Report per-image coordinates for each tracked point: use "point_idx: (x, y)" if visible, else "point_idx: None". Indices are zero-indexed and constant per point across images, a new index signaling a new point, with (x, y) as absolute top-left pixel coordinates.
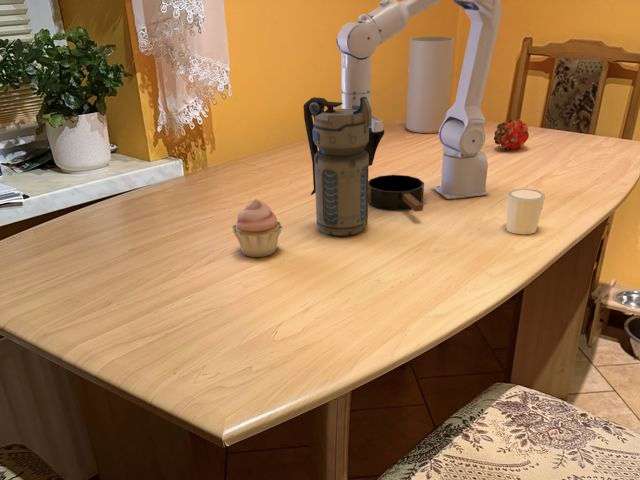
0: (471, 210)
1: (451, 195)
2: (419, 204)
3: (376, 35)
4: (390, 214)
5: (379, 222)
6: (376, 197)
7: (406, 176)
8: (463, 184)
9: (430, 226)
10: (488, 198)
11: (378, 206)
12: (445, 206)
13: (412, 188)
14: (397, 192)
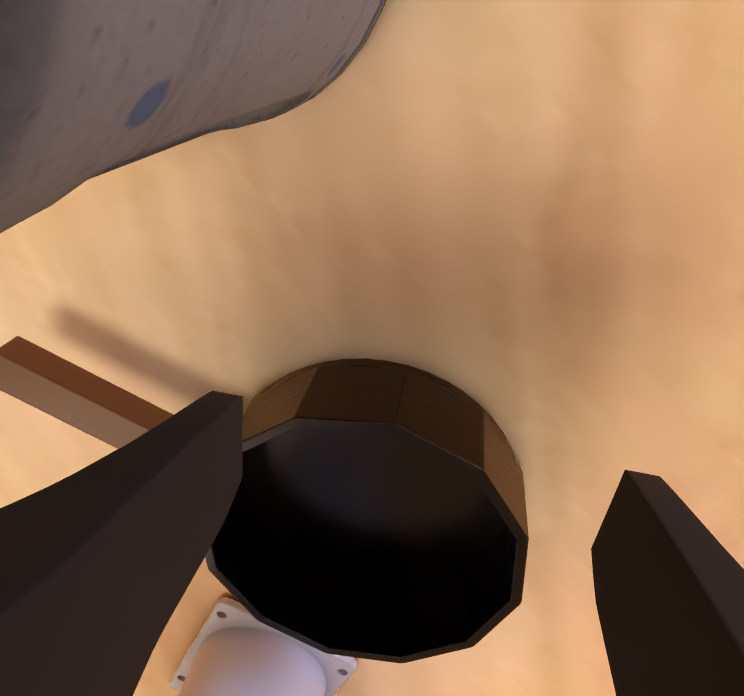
0: None
1: (228, 624)
2: (2, 379)
3: None
4: (241, 332)
5: (180, 201)
6: (353, 390)
7: (401, 654)
8: (183, 685)
9: (4, 329)
10: (150, 662)
11: (348, 364)
12: None
13: (366, 601)
14: None
